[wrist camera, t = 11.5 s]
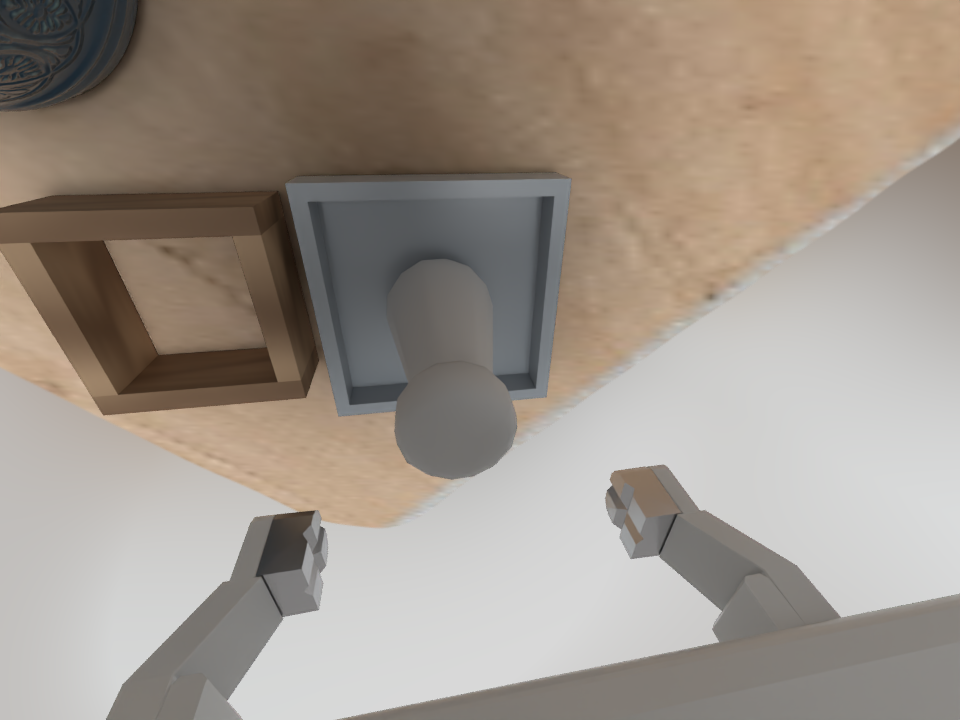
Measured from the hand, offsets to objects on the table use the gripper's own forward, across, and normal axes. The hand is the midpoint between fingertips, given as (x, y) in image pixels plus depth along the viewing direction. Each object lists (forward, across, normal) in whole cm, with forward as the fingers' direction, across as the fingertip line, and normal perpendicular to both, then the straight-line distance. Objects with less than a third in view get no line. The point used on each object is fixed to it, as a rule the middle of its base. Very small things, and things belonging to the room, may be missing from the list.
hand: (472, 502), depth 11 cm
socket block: (+16, +13, 0) cm, 21 cm away
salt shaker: (+16, 0, 0) cm, 16 cm away
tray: (+16, 0, +1) cm, 16 cm away
